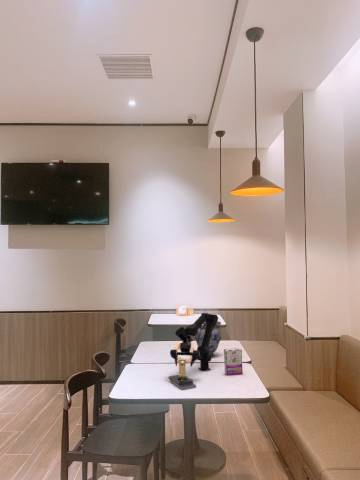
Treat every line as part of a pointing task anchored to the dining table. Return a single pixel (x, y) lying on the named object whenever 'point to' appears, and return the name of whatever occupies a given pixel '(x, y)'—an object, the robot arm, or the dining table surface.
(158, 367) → the dining table surface
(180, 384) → the grey rectangular frame
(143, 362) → the dining table surface
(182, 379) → the brass pin
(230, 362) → the candy bar box
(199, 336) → the decorative vase
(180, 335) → the robot arm
